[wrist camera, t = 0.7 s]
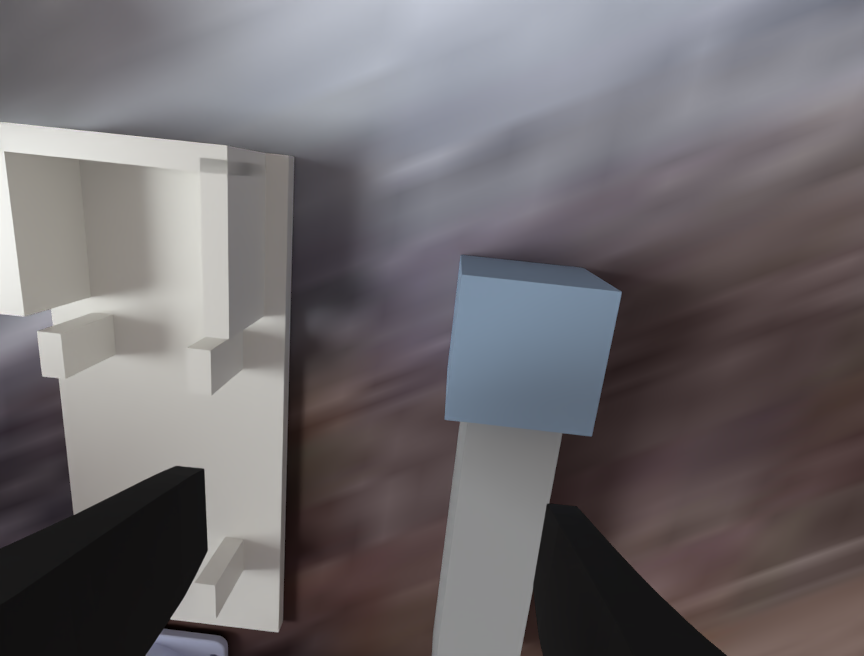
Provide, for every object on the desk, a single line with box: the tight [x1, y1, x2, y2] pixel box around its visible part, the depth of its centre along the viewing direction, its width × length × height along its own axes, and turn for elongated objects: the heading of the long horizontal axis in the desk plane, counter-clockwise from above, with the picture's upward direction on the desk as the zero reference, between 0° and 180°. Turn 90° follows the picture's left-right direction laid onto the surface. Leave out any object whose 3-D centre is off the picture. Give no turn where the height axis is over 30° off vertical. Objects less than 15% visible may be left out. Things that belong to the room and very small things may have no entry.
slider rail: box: [0, 122, 294, 632], centre depth 19 cm, size 21×9×4 cm, turn 174°
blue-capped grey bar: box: [432, 255, 622, 656], centre depth 19 cm, size 18×4×4 cm, turn 174°
